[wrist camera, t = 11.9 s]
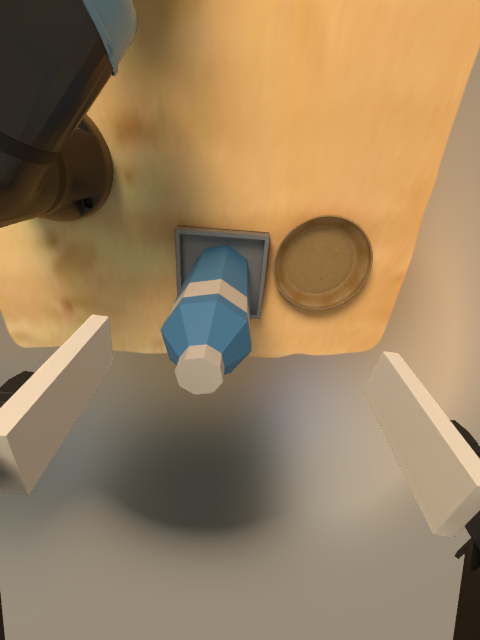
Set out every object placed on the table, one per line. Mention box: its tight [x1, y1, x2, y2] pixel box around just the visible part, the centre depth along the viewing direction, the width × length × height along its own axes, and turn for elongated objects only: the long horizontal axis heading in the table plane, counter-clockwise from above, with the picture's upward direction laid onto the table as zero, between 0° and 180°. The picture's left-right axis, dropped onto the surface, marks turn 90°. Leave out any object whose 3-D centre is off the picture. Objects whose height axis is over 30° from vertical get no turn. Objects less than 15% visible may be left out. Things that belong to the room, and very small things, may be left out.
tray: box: [175, 226, 270, 319], centre depth 46 cm, size 14×14×2 cm
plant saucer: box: [273, 215, 373, 310], centre depth 45 cm, size 15×15×3 cm
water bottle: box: [161, 245, 251, 394], centre depth 36 cm, size 9×9×25 cm
